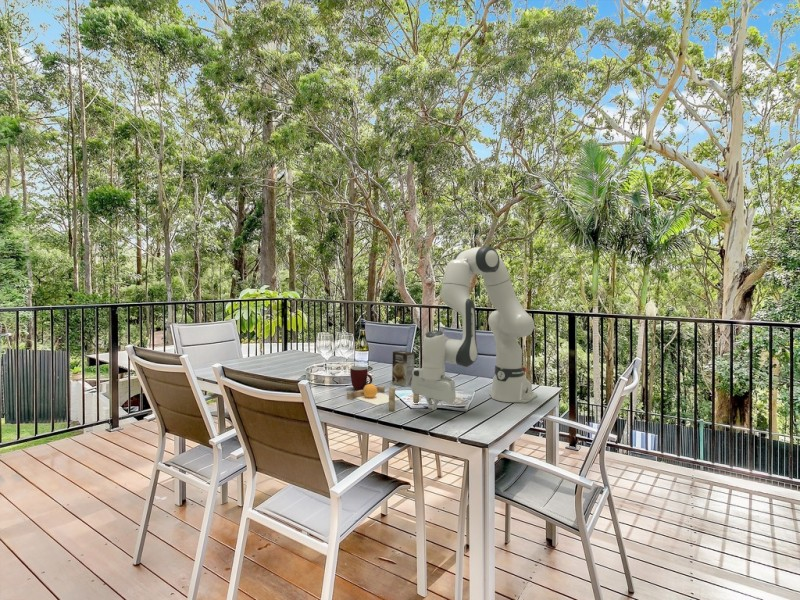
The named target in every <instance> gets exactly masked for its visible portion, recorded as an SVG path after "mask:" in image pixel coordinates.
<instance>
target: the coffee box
mask: <svg viewBox="0 0 800 600" xmlns="http://www.w3.org/2000/svg"><path fill="white" fill-rule="evenodd" d="M391 369H392V373H391V374H392V376H391V378H392V380H391V384H392V385H396V386H400V387H404V388H407V387H411V382H412V377H413V375H412V371H413V370H415V352H412V351H408V350H407V351H405V350H395V351H392V368H391Z"/></svg>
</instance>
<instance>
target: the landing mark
mask: <svg viewBox="0 0 800 600" xmlns="http://www.w3.org/2000/svg"><path fill="white" fill-rule="evenodd" d="M400 399H401V398H399V397H396V396H395V402H397V401H400ZM355 400H359V401H362V402H366V403H368V404H370V405H374V406H379V405H385V404H389V394H386V393H384V392H382V393H377V394H376V395H375V396H374V397H373V398H368V397H366V396H362V397H357V398H355Z"/></svg>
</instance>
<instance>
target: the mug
mask: <svg viewBox="0 0 800 600" xmlns="http://www.w3.org/2000/svg"><path fill="white" fill-rule="evenodd" d="M368 370H369V369H368V367H367V366H352V367H350V370H349V371H350V372H349V373H350V381H351V385H352V387H353V389H354V391H359V390H364V387H365V386H366V385H368V384H373V377H372V375H371V374H369V371H368ZM368 378H369V382H368V383H367V380H368Z"/></svg>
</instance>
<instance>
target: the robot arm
mask: <svg viewBox="0 0 800 600" xmlns="http://www.w3.org/2000/svg"><path fill="white" fill-rule="evenodd" d="M479 274H480V275H481V277H482V278H483V283H484V287H485V290H486V293H487V296H488V299H489V302H490V304H491V305H493V306H494V308H495V309H496V310H494V311H492V312H491V313H490V314H489V316H488V319H487V320H488V321H487V322H488V323H487V324H488V326H489V328H490V329H491V332H492V334H493V338H494V342H495V351H496V352H495V353H496V355H495V356H496V357H495V366H494V374H495V375H494V376H493V377H492V383H491V391H489V395H490V397H491V398H492V399H493V400H496V401H499V402H503V403H521V404H522V403H523V404H525V403H527V404H528V403H529V402H530V401H532V400H534V399H535V398H537V397H538V394H537V393H536V392H534V391H533V385H532V382H531V381H530V380H529V379H527V377H526V376H525V372H527V370H528V368H527V367H526V366H522V365H523V349H522V347H521V345H520V344H519V341H518V338H525V337H529V336H530V335H531V334H532V333H533V331H534V328H535V321H534V319H533V317H532V316H531V315H530V314H528V312H527V311H526V310H525V308H524V307H523V305H522V304H521V302H520V301H519V299H518V297H517V294H516V293H515V289H514V286H513V283H512V280H511V276H510V273H509V271H508V269H507V266H506V264H505V263H504V261H503V259H502V258H501V257H500V256H499V253H498V252H497V250H496V249H495V248H493V246H489V245H488V246H487V245H484V246H478V247H476V246H475V247H471V248H468V249H463V250H461V251H459V252H457V253H456V254H455V255H454V257H453V258H452V259H451V260H450V261H449V262H448V263H447V265H446V268H445V270H444V275H443V276H442V277H443V278H442V283H441V291H440V297H441V300H442V302H443V303H444V304H445V305H446V306H447V307H448V308H451V309H452V310H454V311H456V312H457V313H458V314H459V315H460V317H461V320H462V321H461V322H462V338H461V339H456V338H455V339H454V338H451V337H450V338H449V337H448V336H446V335H445V332H443V331H442V330H431V331H427V332H426V333H425V334H424V337H423V340H422V341H423V342H422V353H421V354H422V355H421V356H422V360H423V361H422V364H421V367H420V368H416V369H414V370H413V371H412V375H413V377H412V382H411V386H410V388H411V392H412V393H415V394H419V396H423V397H425V400H426V403H427V405H428V406H427V408H428V409H429V410H431V411H432V410H433V411H436V410H437V409H438V404H439V403H440V402H444V403H448V404H450V403H453V402H455V400H456V399H457V397H456V386H455V385H456V384H455V380H454V379H453V378H452V377H451V376H446V363H447V364H451V365H452V364H453V365H457V366H458V365H459V366H461V367H464V368H468V367H470V366H472V365H473V364H474V363H475V362H476V361H477V359H478V356H479V352H478V350H479V349H478V344H477V327H476V326H477V325H476V323H477V322H476V320H477V318H476V305H475V303H474V301H473V300H472V299H471V297H470V286H471V285H470V284H471V277H472V276H473V275H475V276H476V275H479ZM439 400H440V401H439Z"/></svg>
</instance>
